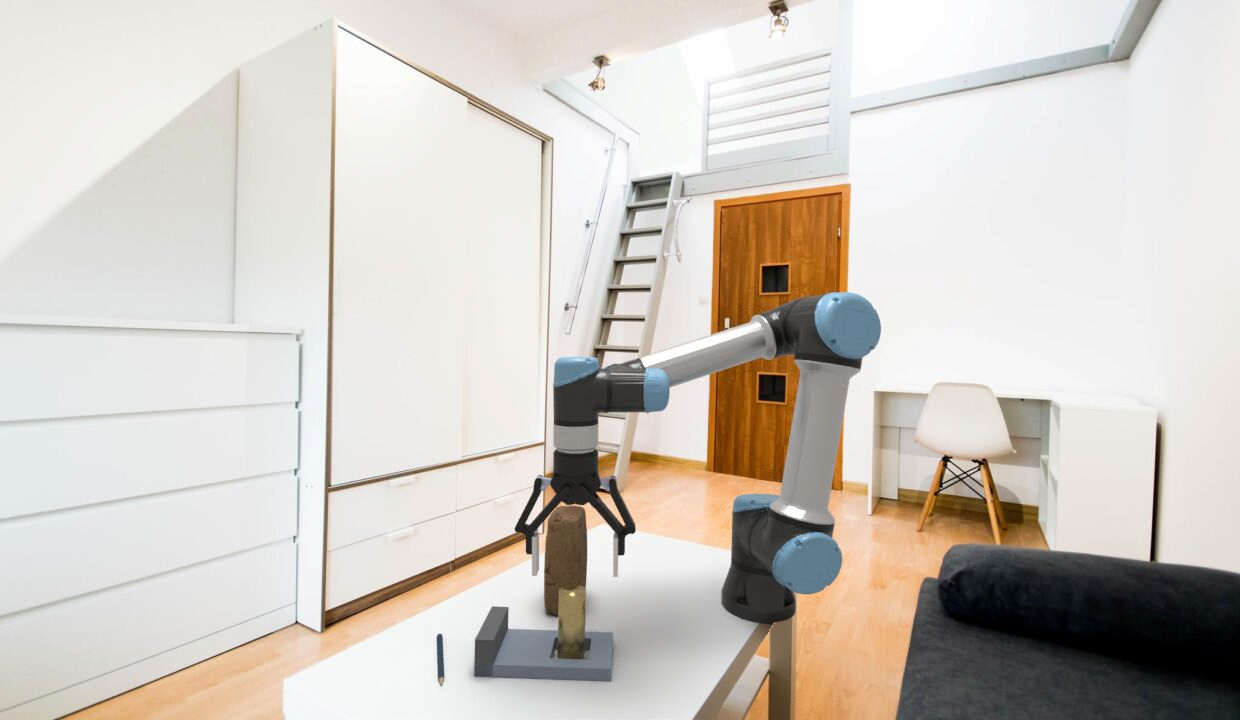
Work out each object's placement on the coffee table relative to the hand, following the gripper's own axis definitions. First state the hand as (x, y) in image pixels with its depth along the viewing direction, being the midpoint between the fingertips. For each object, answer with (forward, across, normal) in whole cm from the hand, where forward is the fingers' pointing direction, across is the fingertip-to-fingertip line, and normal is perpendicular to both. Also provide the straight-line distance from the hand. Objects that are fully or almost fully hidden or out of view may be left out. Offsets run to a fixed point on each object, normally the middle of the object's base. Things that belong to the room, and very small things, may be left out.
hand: (575, 573), depth 92 cm
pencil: (+15, +23, +2) cm, 27 cm away
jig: (+15, +5, 0) cm, 16 cm away
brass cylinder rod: (+15, +1, 0) cm, 15 cm away
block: (+15, +4, -19) cm, 24 cm away
